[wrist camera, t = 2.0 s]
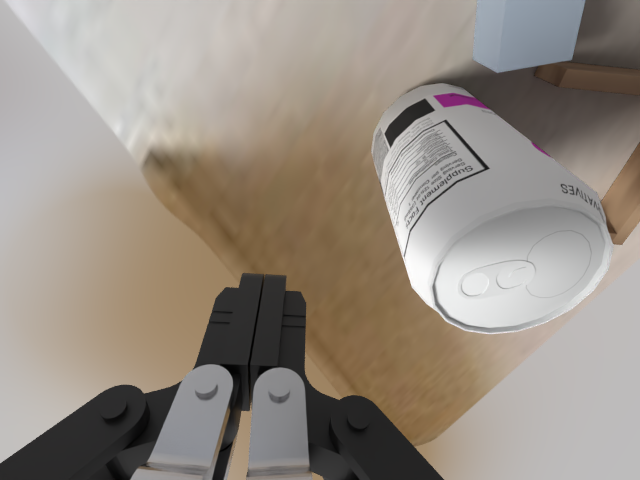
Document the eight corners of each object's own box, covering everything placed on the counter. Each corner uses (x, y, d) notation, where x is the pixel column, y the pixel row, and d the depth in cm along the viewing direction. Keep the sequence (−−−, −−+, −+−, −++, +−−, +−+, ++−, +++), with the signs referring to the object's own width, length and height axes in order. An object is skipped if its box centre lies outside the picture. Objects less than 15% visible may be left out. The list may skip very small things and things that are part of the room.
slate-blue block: (478, -15, 21) (507, -13, 18) (549, -30, 21) (592, -30, 17) (472, 59, 23) (497, 72, 20) (535, 47, 23) (571, 59, 20)
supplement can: (479, 63, 23) (652, 157, 11) (484, 172, 28) (611, 321, 16) (358, 102, 25) (399, 224, 13) (383, 200, 30) (429, 356, 18)
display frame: (541, 59, 23) (566, 69, 21) (697, 76, 24) (740, 87, 22) (475, 214, 30) (489, 235, 28) (598, 223, 31) (621, 244, 29)
